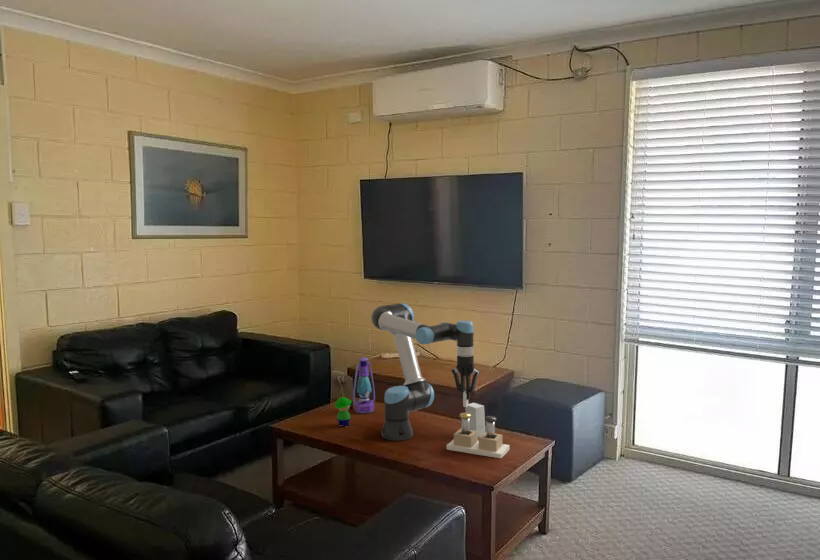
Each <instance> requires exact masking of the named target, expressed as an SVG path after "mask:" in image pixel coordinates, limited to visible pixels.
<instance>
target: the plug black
mask: <svg viewBox="0 0 820 560" xmlns="http://www.w3.org/2000/svg"><path fill="white" fill-rule="evenodd" d="M496 421H497V417H496V416H494V415H487V416H485V432H486V438H491V439H494V438H495V434H496V429H495V428H496V425H495V424H496Z"/></svg>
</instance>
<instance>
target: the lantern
mask: <svg viewBox="0 0 820 560" xmlns="http://www.w3.org/2000/svg"><path fill="white" fill-rule="evenodd" d="M358 361H359V362H358V363H356V367H355V374H354V381H353V391H352V401H353V408H354V412H355V413H358V414H370V413H372V412H375V409H376V408H375V406H376V405H375V403H374V402H375V400H376V390H375V389H376V388H375V384H374V377H373V370H372V369H373V368H372V364H371V363H372V362H370V361H369V358H367V357H365V356H363V357H361V358H358ZM358 370H359V371H358ZM358 376H359V377H358ZM369 376H370V377H369ZM357 378H358V380H357ZM370 379H371V381H370ZM371 384H372V385H371ZM356 393H357V394H358V401H356ZM371 393H372V399H370V395H371Z"/></svg>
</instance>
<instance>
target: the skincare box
mask: <svg viewBox="0 0 820 560" xmlns="http://www.w3.org/2000/svg"><path fill="white" fill-rule="evenodd" d="M464 408H465V410H464V411H465V413H470V414H471V417H470V430H473V431H477V439H478V438H479V437H480V436H481V435H482V434H483V433H485V432H486V421H485V417H486V416H485V415H486V414H485V405H482V404H481V403H477V402H472V403H468V406H467V407H464Z"/></svg>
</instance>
